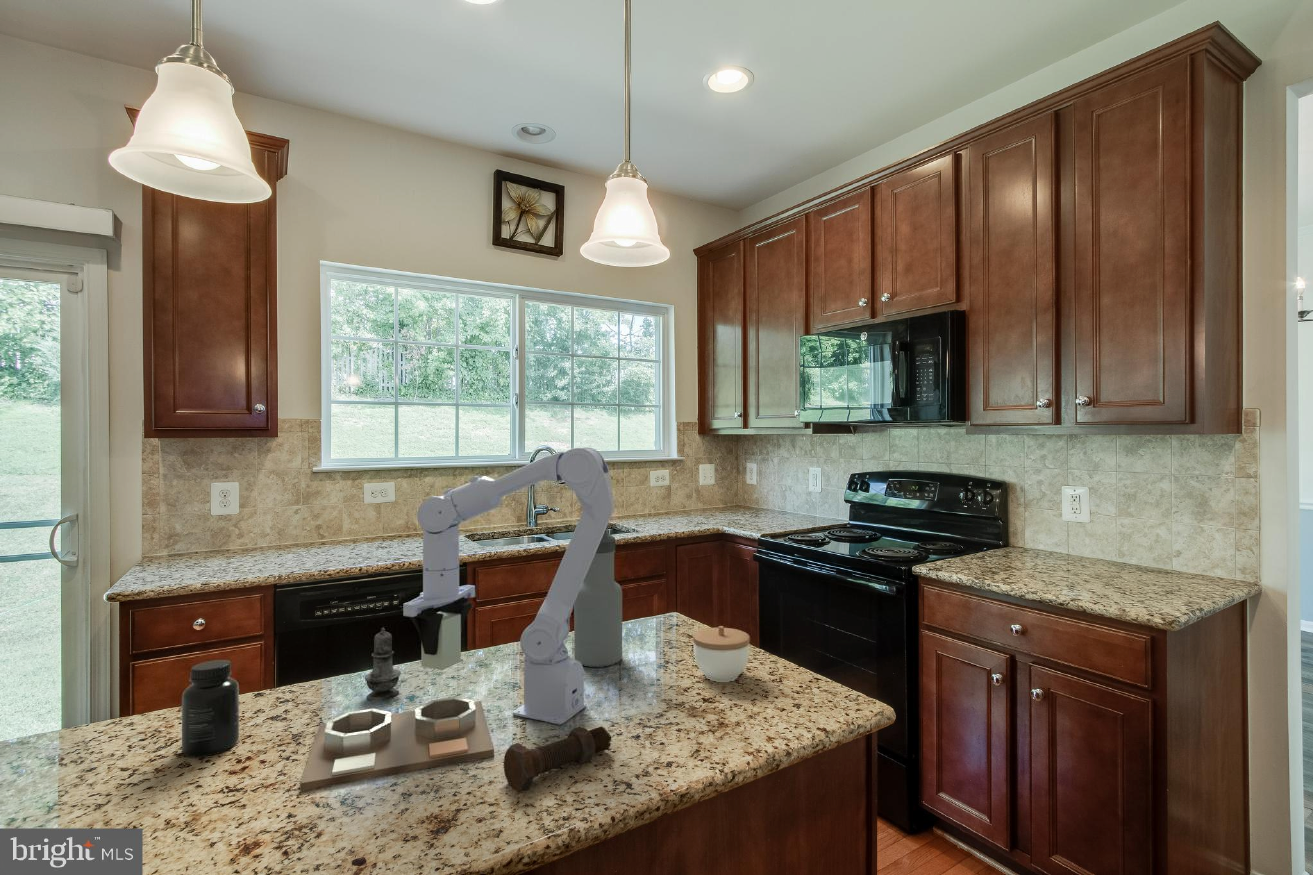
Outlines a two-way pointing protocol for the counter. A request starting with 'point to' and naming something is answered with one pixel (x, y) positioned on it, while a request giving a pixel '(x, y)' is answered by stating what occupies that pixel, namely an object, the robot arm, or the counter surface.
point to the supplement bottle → (210, 710)
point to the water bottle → (599, 611)
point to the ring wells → (382, 725)
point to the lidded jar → (721, 652)
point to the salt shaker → (382, 670)
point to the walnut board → (396, 752)
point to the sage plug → (445, 644)
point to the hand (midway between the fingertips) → (441, 649)
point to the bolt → (553, 755)
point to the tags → (369, 759)
